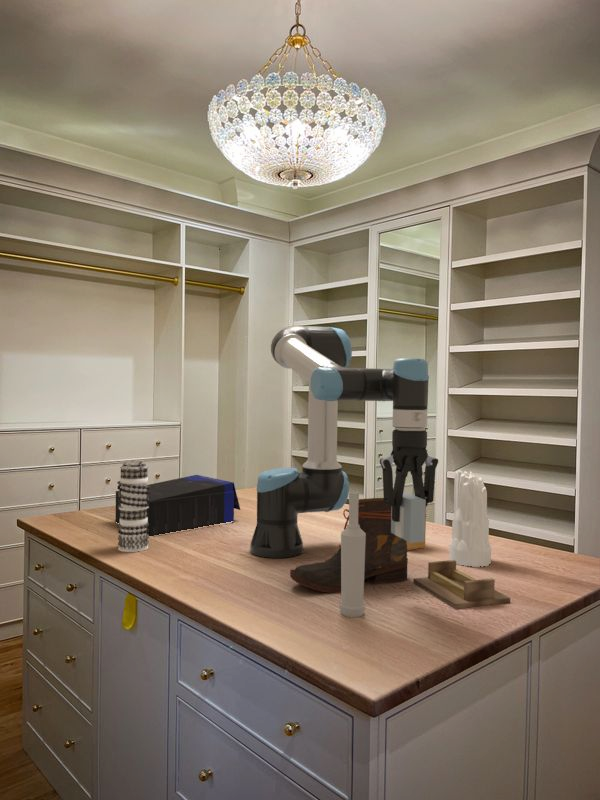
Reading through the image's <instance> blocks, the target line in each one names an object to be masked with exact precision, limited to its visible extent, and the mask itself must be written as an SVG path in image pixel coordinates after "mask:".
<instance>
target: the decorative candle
mask: <svg viewBox="0 0 600 800" xmlns="http://www.w3.org/2000/svg"><path fill="white" fill-rule="evenodd" d="M119 468H120V477H119V481H117V484H118V485H117V490H118V491H120V492H119V493H118V496H119V498H118V502H119V503H121V504H120V505H119V509H120V524H119V525H118V524H117V528H119V529H118V531H117V533H118V534H119V535H118V537H117V540H118V543H117V546H118V551H120V552H123V553H138V551H139V552H143V551H146V550H148V549H149V542H150V540H149V539H150V537H149V535H148V534H147V532H149V529H148V528H147V527H148V526H149V523H148V517H147V508H149V504H148V503H147V502H148V501H149V500H150V499H149V498H148V497H147V494H150V492H149V491H147V489H149V488H150V486H147V485H148V482H149V477H148V468H149V465H147V464H146V462H145V461H144V460H129V461H125V462H123V463H122V465H121V466H119Z"/></svg>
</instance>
